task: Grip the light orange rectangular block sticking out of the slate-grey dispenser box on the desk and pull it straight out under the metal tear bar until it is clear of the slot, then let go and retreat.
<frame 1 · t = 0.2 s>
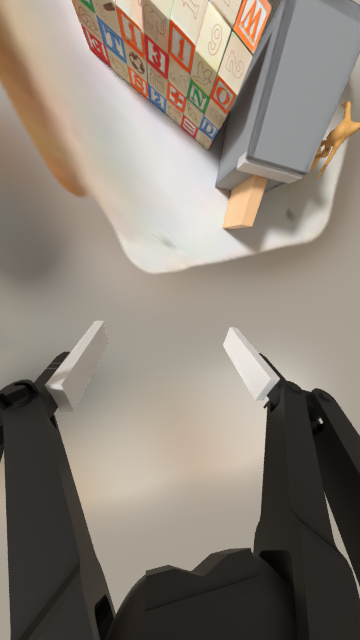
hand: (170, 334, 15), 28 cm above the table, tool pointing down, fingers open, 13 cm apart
dispenser: (245, 152, 28), on the table
stack of blocks: (163, 82, 23), on the table
light orange rectangular block: (247, 184, 27), point 5 cm above the table, slide at 0.0 cm
figurine: (294, 164, 30), on the table
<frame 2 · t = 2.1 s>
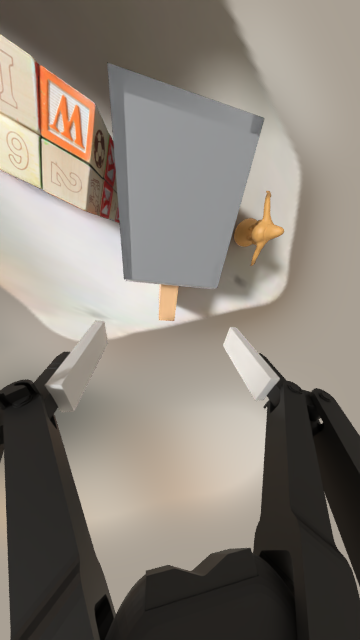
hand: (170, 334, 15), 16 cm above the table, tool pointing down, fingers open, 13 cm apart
dispenser: (170, 225, 23), on the table
stack of blocks: (39, 154, 17), on the table
light orange rectangular block: (168, 268, 22), point 5 cm above the table, slide at 0.0 cm
figurine: (234, 233, 25), on the table
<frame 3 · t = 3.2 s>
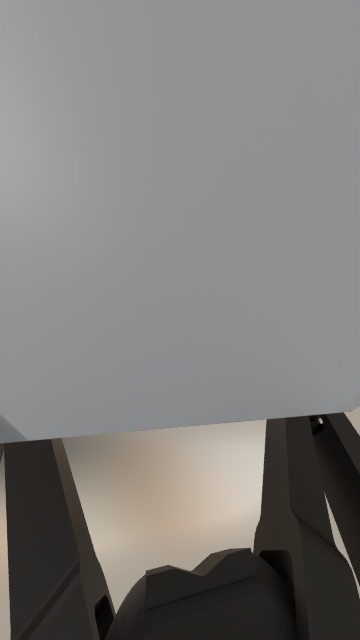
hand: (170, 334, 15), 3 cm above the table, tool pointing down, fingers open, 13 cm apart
dispenser: (179, 214, 12), on the table
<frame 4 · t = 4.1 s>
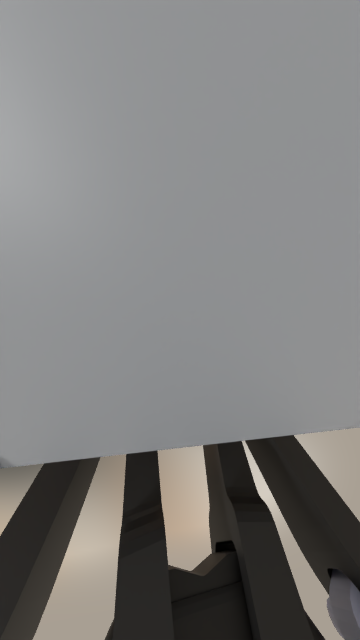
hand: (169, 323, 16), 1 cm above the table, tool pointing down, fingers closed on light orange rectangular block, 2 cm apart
dispenser: (181, 216, 12), on the table
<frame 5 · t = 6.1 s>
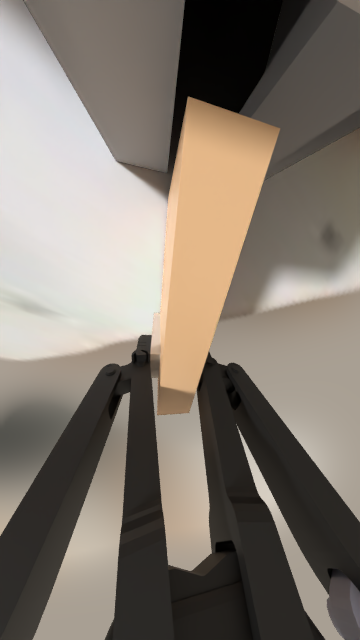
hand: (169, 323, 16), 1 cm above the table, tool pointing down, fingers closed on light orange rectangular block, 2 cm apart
dispenser: (202, 25, 7), on the table
light orange rectangular block: (178, 304, 11), point 5 cm above the table, slide at 8.5 cm, touching gripper
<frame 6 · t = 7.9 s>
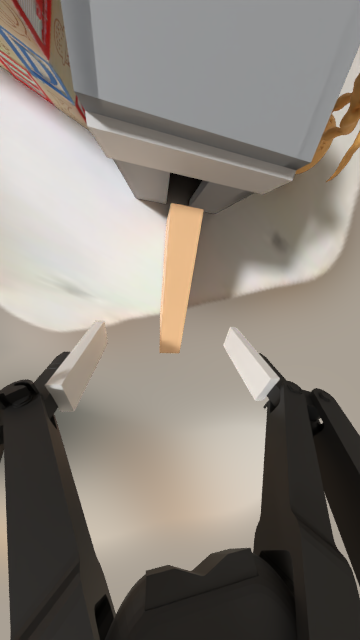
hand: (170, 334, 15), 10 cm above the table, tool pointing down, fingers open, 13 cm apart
dispenser: (184, 132, 14), on the table
light orange rectangular block: (172, 285, 17), point 5 cm above the table, slide at 8.7 cm
figurine: (281, 157, 16), on the table
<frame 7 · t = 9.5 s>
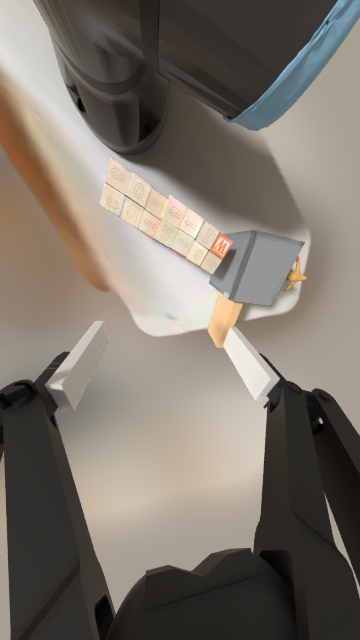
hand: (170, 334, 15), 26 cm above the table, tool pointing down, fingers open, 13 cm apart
dispenser: (232, 263, 37), on the table
stack of blocks: (166, 229, 32), on the table
light orange rectangular block: (222, 319, 40), point 5 cm above the table, slide at 8.7 cm
figurine: (269, 268, 39), on the table
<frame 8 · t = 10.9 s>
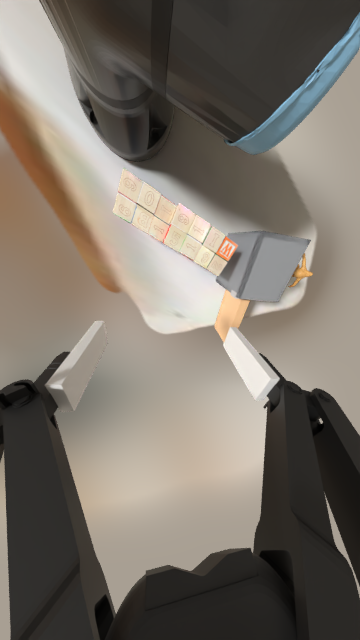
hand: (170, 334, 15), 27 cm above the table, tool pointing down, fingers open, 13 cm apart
dispenser: (238, 261, 38), on the table
stack of blocks: (173, 232, 33), on the table
light orange rectangular block: (229, 315, 41), point 5 cm above the table, slide at 8.7 cm
figurine: (274, 265, 40), on the table
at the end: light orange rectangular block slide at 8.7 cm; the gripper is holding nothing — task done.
